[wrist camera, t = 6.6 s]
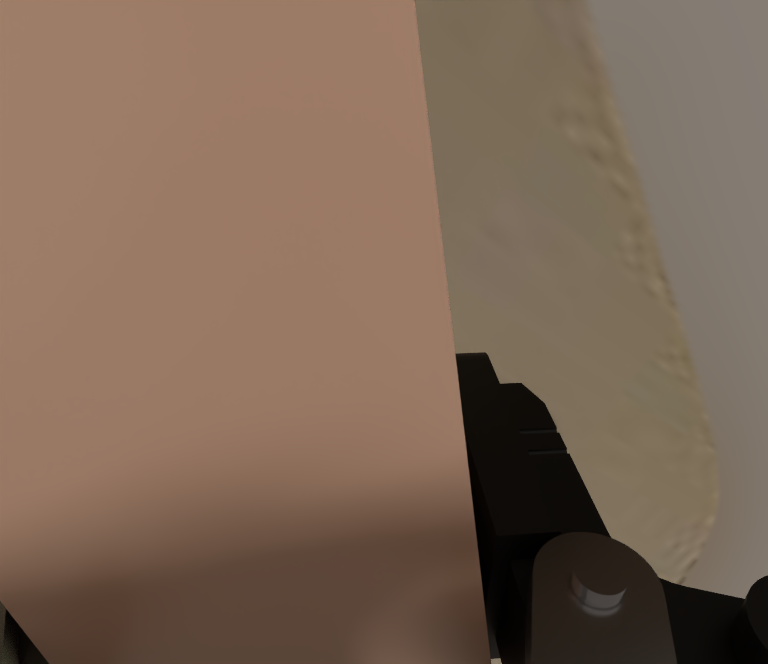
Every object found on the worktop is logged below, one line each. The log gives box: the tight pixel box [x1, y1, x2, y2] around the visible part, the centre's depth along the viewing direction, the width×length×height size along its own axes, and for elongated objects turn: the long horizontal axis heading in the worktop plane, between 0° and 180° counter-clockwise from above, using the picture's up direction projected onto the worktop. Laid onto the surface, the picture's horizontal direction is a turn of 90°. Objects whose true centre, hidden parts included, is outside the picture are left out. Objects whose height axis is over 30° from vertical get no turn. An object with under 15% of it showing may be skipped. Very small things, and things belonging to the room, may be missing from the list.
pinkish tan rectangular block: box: [0, 0, 491, 664], centre depth 9 cm, size 14×4×5 cm, turn 9°
